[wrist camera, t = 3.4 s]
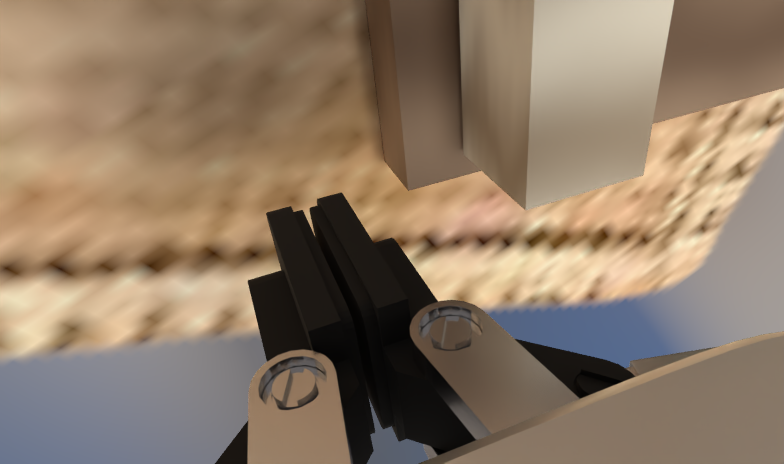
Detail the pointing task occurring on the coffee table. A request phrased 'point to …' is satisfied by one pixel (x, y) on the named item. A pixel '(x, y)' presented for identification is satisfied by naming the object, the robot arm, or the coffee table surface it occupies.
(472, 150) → the folding leg
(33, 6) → the coffee table surface
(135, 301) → the coffee table surface
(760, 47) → the brown board with blocks
